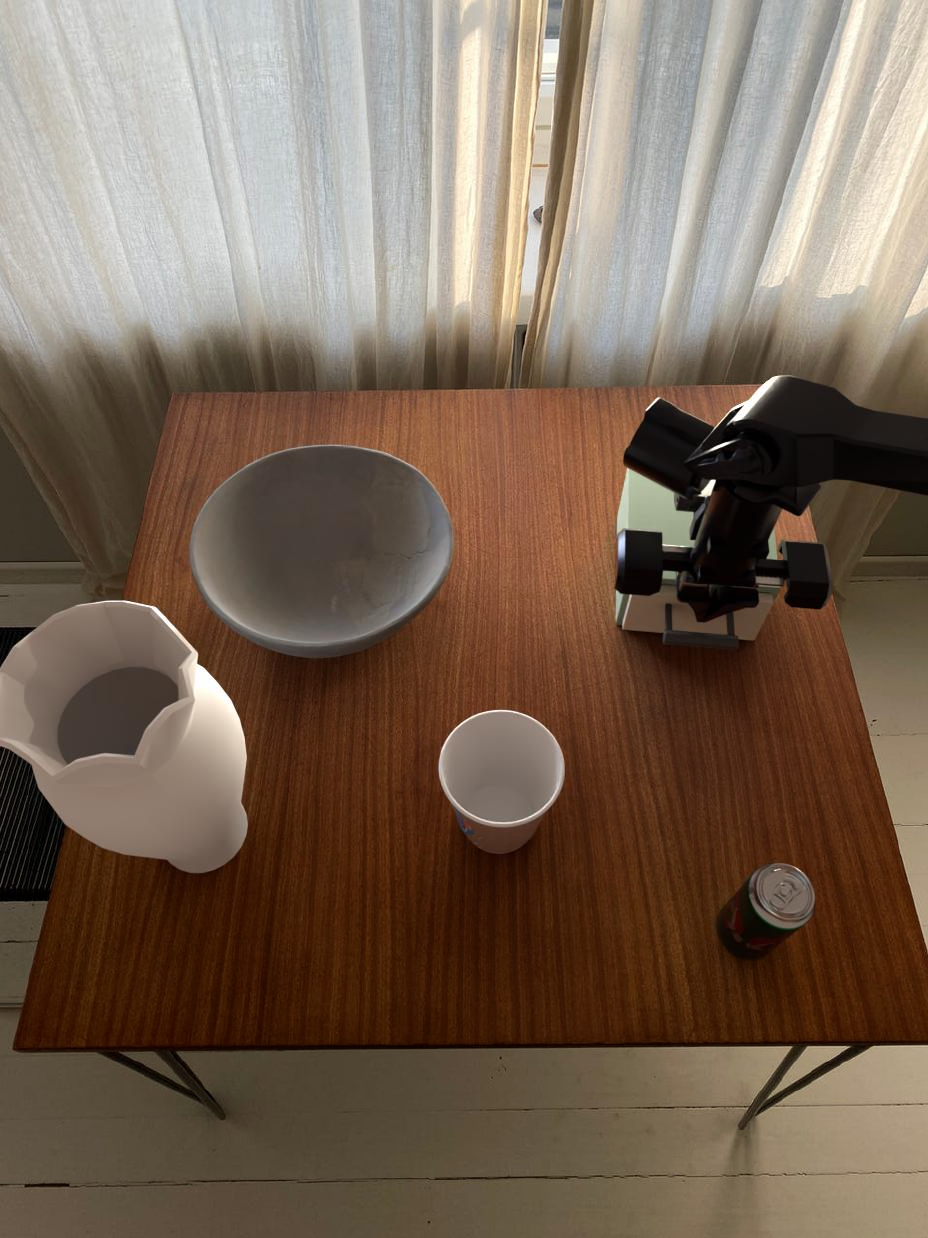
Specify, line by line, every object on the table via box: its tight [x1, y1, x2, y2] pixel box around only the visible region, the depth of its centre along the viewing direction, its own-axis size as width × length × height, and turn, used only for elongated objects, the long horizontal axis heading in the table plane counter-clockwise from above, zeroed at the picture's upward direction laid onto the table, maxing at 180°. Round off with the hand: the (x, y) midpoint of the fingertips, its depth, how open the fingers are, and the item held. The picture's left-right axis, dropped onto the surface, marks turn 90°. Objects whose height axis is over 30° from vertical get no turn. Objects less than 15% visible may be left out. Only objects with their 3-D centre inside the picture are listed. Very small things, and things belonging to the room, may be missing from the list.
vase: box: [0, 600, 249, 874], centre depth 69 cm, size 15×15×29 cm
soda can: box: [715, 862, 816, 961], centre depth 70 cm, size 5×5×12 cm
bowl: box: [189, 444, 455, 659], centre depth 91 cm, size 26×26×10 cm
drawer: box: [621, 584, 774, 651], centre depth 90 cm, size 18×14×7 cm
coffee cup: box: [438, 709, 566, 855], centre depth 76 cm, size 10×10×12 cm
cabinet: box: [615, 467, 782, 626], centre depth 93 cm, size 15×15×9 cm
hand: (700, 618), depth 86 cm, fingers closed
